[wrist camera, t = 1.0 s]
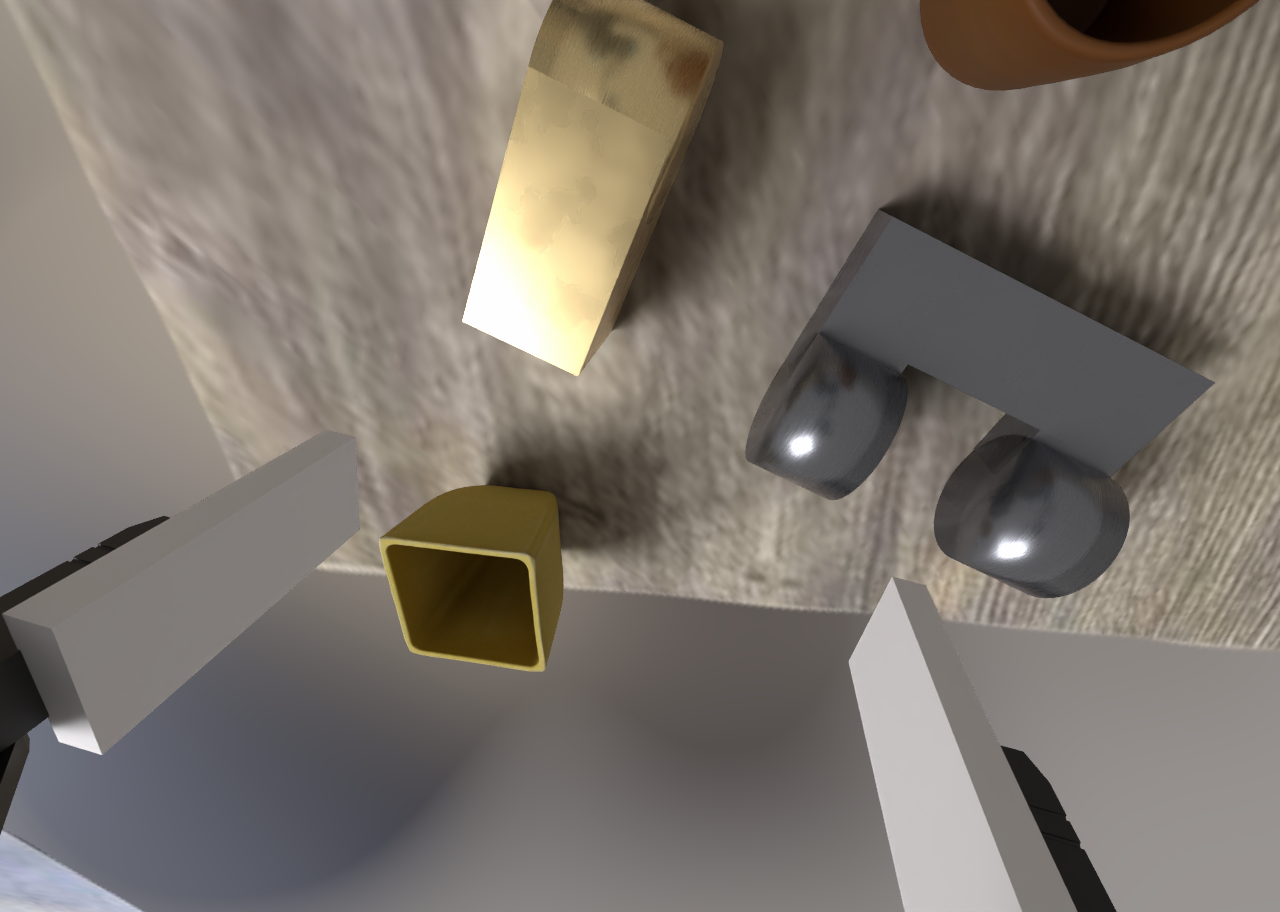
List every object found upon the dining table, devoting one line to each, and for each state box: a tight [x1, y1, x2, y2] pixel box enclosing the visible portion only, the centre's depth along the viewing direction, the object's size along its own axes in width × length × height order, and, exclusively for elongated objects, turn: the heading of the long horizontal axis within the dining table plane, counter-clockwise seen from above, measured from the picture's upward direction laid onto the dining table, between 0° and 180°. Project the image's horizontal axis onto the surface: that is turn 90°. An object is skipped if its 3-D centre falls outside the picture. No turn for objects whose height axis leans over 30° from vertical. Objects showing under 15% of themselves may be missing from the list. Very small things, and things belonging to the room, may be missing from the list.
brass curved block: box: [463, 0, 723, 376], centre depth 24 cm, size 14×6×7 cm, turn 156°
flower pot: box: [379, 485, 563, 671], centre depth 34 cm, size 9×9×9 cm
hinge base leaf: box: [746, 209, 1215, 598], centre depth 26 cm, size 12×16×7 cm
